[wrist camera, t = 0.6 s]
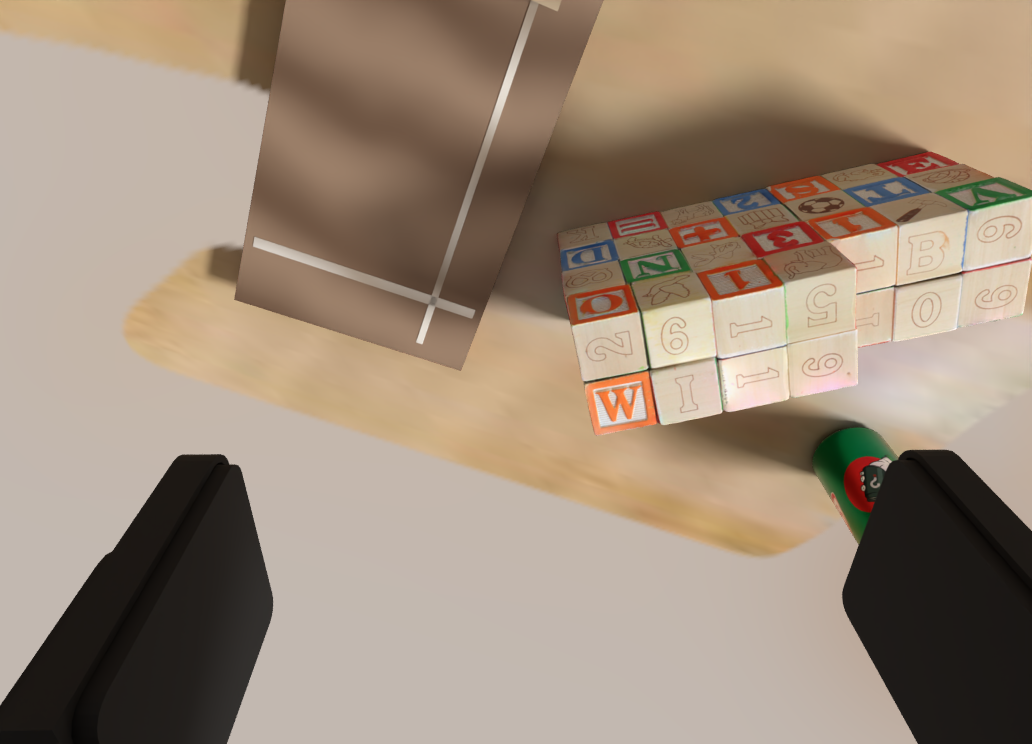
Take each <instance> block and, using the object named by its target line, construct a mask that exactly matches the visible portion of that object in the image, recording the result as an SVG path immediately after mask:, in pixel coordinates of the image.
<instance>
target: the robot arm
mask: <svg viewBox="0 0 1032 744" xmlns="http://www.w3.org/2000/svg"><path fill="white" fill-rule="evenodd" d="M842 598H843V605H844V609H845V612H846V614H847V616H848V618H849V620H850V621H851V623H852V625H853V627H854V629H855V631H856V632H857V634H858V636H859V638H860V640H861V641H862V643H863V645H864V647H865V649H866V650H867V652H868V654H869V656H870V658H871V660H872V661H873V663H874V665H875V667H876V669H877V670H878V672H879V674H880V676H881V678H882V679H883V681H884V683H885V685H886V687H887V688H888V690H889V692H890V694H891V696H892V697H893V699H894V701H895V703H896V705H897V707H898V709H899V710H900V712H901V714H902V716H903V718H904V719H905V721H906V723H907V725H908V726H909V728H910V730H911V732H912V734H913V736H914V738H915V739H916V741H917V743H918V744H1032V531H1031V530H1030V529H1029V528H1028V527H1027V526H1026V525H1025V524H1024V523H1023V522H1022V521H1021V520H1020V519H1019V518H1018V516H1016V514H1015V513H1014V512H1013V511H1012V510H1011V509H1010V508H1009V507H1008V506H1007V505H1006V504H1005V503H1004V502H1003V501H1002V500H1001V499H1000V498H999V497H998V496H997V495H996V494H995V493H994V492H993V491H992V490H991V489H990V488H989V487H988V486H987V485H986V484H985V483H984V482H983V480H981V478H980V477H979V476H978V475H977V474H976V473H975V472H974V471H973V470H972V469H971V468H970V467H969V466H968V465H967V464H966V463H965V462H964V461H963V460H962V459H961V458H960V457H959V456H958V455H957V454H955V453H954V452H953V451H949V450H908V451H905V452H903V453H902V454H901V455H900V457H899V458H898V460H895V461H892V462H891V463H890V464H889V465H888V467H887V469H886V472H885V475H884V478H883V480H882V483H881V486H880V489H879V491H878V494H877V497H876V500H875V502H874V505H873V508H872V511H871V513H870V516H869V519H868V522H867V524H866V527H865V530H864V532H863V535H862V538H861V541H860V543H859V546H858V549H857V552H856V554H855V557H854V560H853V563H852V566H851V568H850V571H849V574H848V576H847V579H846V582H845V585H844V588H843V592H842ZM272 611H273V596H272V591H271V587H270V583H269V579H268V575H267V571H266V567H265V563H264V559H263V555H262V551H261V547H260V543H259V539H258V535H257V531H256V527H255V523H254V519H253V515H252V511H251V507H250V503H249V499H248V495H247V491H246V487H245V483H244V480H243V475H242V472H241V469H240V467H239V466H238V465H229V462H228V460H227V458H226V457H225V456H224V455H221V454H217V455H216V454H214V455H213V454H211V455H180V456H178V457H177V458H176V459H175V460H174V461H173V463H172V464H171V466H170V467H169V469H168V470H167V472H166V473H165V475H164V476H163V478H162V479H161V481H160V482H159V483H158V485H157V486H156V488H155V489H154V491H153V493H152V494H151V495H150V497H149V498H148V500H147V501H146V503H145V504H144V506H143V507H142V508H141V510H140V512H139V513H138V514H137V516H136V517H135V519H134V520H133V522H132V523H131V525H130V526H129V528H128V529H127V531H126V532H125V534H124V535H123V536H122V538H121V539H120V541H119V542H118V544H117V545H116V547H115V548H114V550H113V551H112V552H111V553H109V554H107V555H105V557H104V558H103V559H102V560H101V561H100V562H99V563H98V565H97V566H96V567H95V569H94V570H93V572H92V573H91V575H90V576H89V578H88V579H87V580H86V582H85V583H84V585H83V586H82V588H81V589H80V590H79V592H78V594H77V595H76V596H75V598H74V599H73V601H72V602H71V604H70V605H69V607H68V608H67V609H66V611H65V612H64V614H63V615H62V617H61V618H60V620H59V621H58V622H57V624H56V625H55V627H54V628H53V630H52V631H51V633H50V634H49V635H48V637H47V638H46V640H45V641H44V643H43V644H42V646H41V647H40V649H39V650H38V651H37V653H36V654H35V656H34V657H33V659H32V660H31V662H30V663H29V665H28V666H27V667H26V669H25V670H24V672H23V673H22V675H21V676H20V678H19V679H18V680H17V682H16V683H15V685H14V686H13V688H12V689H11V691H10V692H9V694H8V695H7V696H6V698H5V700H4V701H3V702H2V704H1V705H0V744H227V742H228V739H229V736H230V733H231V730H232V728H233V724H234V722H235V719H236V716H237V714H238V711H239V708H240V705H241V702H242V699H243V697H244V694H245V691H246V688H247V686H248V683H249V680H250V677H251V674H252V671H253V669H254V666H255V663H256V660H257V657H258V655H259V652H260V649H261V646H262V643H263V641H264V638H265V635H266V632H267V629H268V627H269V624H270V621H271V617H272Z"/></svg>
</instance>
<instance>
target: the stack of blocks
mask: <svg viewBox="0 0 1032 744" xmlns="http://www.w3.org/2000/svg"><path fill="white" fill-rule="evenodd" d="M557 237H558V244H559V250H560V257H561V267H562V274H561V276H562V283H563V292H564V299H565V303H566V307H567V311H568V315H569V319H570V324H571V329H572V334H573V338H574V342H575V347H576V352H577V357H578V362H579V366H580V371H581V376H582V380H583V382H584V388H585V393H586V398H587V403H588V407H589V412H590V416H591V421H592V425H593V430H594V433H595V435H596V436H597V435H602V434H608V433H613V432H618V431H623V430H628V429H635V428H639V427H644V426H650V425H655V424H657V423H660V424H661V425H668V424H672V423H678V422H683V421H687V420H692V419H698V418H703V417H707V416H712V415H716V414H720V413H722V412H723V410H725V411H727V412H733V411H738V410H743V409H747V408H752V407H758V406H762V405H766V404H771V403H776V402H781V401H785V400H787V399H788V398H790V397H792V398H797V397H802V396H807V395H812V394H816V393H821V392H826V391H831V390H836V389H840V388H845V387H850V386H855V385H857V384H858V358H857V355H858V348H860V347H865V346H870V345H875V344H880V343H885V342H889V341H892V342H897V341H902V340H907V339H912V338H917V337H922V336H928V335H933V334H938V333H943V332H948V331H952V330H955V329H957V328H958V327H965V326H971V325H976V324H981V323H985V322H991V321H997V320H1001V319H1006V318H1011V317H1017V316H1020V315H1023V311H1024V305H1025V299H1026V293H1027V287H1028V281H1029V276H1030V270H1031V265H1032V259H1031V257H1030V256H1031V253H1032V190H1030V189H1027V188H1025V187H1023V186H1020V185H1018V184H1016V183H1013V182H1011V181H1009V180H1006V179H1003V178H1000V177H997V178H994V177H992V176H990V175H988V174H986V173H983V172H981V171H978V170H976V169H974V168H971V167H969V166H967V165H965V164H959V163H956V162H955V161H952V160H950V159H948V158H946V157H944V156H941V155H939V154H936V153H933V152H926V153H922V154H918V155H914V156H909V157H905V158H901V159H897V160H892V161H888V162H884V163H879V164H877V165H875V164H868V165H863V166H859V167H854V168H850V169H845V170H841V171H836V172H832V173H828V174H824V175H821V176H814V177H808V178H804V179H799V180H795V181H790V182H785V183H781V184H777V185H772V186H768V187H767V188H765V189H760V190H755V191H751V192H747V193H742V194H737V195H733V196H728V197H723V198H719V199H715V200H713V201H708V202H702V203H698V204H693V205H689V206H684V207H680V208H675V209H671V210H667V211H663V212H652V213H647V214H643V215H638V216H634V217H629V218H624V219H620V220H615V221H611V222H607V223H600V224H595V225H590V226H586V227H581V228H576V229H572V230H567V231H563V232H559V233H558V234H557Z"/></svg>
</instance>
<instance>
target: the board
mask: <svg viewBox="0 0 1032 744" xmlns="http://www.w3.org/2000/svg"><path fill="white" fill-rule="evenodd" d="M602 3H603V0H562V1H561V3H560V6H559V9H558V11H555V10H553V9H551V8H548V7H546V6H544V5H541V4H539V3H537V2H534V1H532V0H286V3H285V8H284V14H283V20H282V26H281V32H280V37H279V43H278V49H277V55H276V61H275V67H274V72H273V78H272V84H271V90H270V96H269V101H268V107H267V113H266V119H265V125H264V130H263V137H262V143H261V148H260V154H259V159H258V165H257V171H256V177H255V183H254V189H253V194H252V200H251V207H250V212H249V218H248V223H247V229H246V235H245V241H244V247H243V252H242V258H241V264H240V270H239V276H238V281H237V287H236V293H235V299H234V300H237V301H240V302H243V303H247V304H250V305H253V306H256V307H259V308H263V309H266V310H269V311H272V312H275V313H278V314H282V315H285V316H288V317H291V318H294V319H298V320H301V321H304V322H307V323H310V324H313V325H317V326H320V327H323V328H326V329H329V330H333V331H336V332H339V333H342V334H345V335H348V336H352V337H355V338H358V339H361V340H364V341H367V342H371V343H374V344H377V345H380V346H383V347H387V348H390V349H393V350H396V351H399V352H402V353H406V354H409V355H412V356H415V357H418V358H422V359H425V360H428V361H431V362H434V363H437V364H441V365H444V366H447V367H450V368H453V369H457V370H460V371H461V370H462V367H463V364H464V362H465V359H466V357H467V354H468V351H469V349H470V346H471V344H472V341H473V338H474V336H475V333H476V331H477V328H478V325H479V323H480V320H481V318H482V315H483V312H484V310H485V307H486V305H487V302H488V299H489V297H490V294H491V291H492V289H493V286H494V284H495V281H496V278H497V276H498V273H499V271H500V268H501V265H502V263H503V260H504V258H505V255H506V252H507V250H508V247H509V245H510V242H511V239H512V237H513V234H514V232H515V229H516V226H517V224H518V221H519V219H520V216H521V213H522V211H523V208H524V206H525V203H526V200H527V198H528V195H529V193H530V190H531V187H532V185H533V182H534V180H535V177H536V174H537V172H538V169H539V167H540V164H541V161H542V159H543V156H544V154H545V151H546V148H547V146H548V143H549V141H550V138H551V135H552V133H553V130H554V128H555V125H556V122H557V120H558V117H559V115H560V112H561V109H562V107H563V104H564V101H565V99H566V96H567V94H568V91H569V88H570V86H571V83H572V81H573V78H574V75H575V73H576V70H577V68H578V65H579V62H580V60H581V57H582V55H583V52H584V49H585V47H586V44H587V42H588V39H589V36H590V34H591V31H592V29H593V26H594V23H595V21H596V18H597V16H598V13H599V10H600V8H601V5H602Z"/></svg>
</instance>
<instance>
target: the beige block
mask: <svg viewBox="0 0 1032 744" xmlns="http://www.w3.org/2000/svg"><path fill="white" fill-rule="evenodd" d="M532 1H534V2H537V3H539V4H541V5H544V6H546V7H548V8H551V9H553V10H555V11H558V9H559V6H560V3H561V1H562V0H532Z"/></svg>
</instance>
